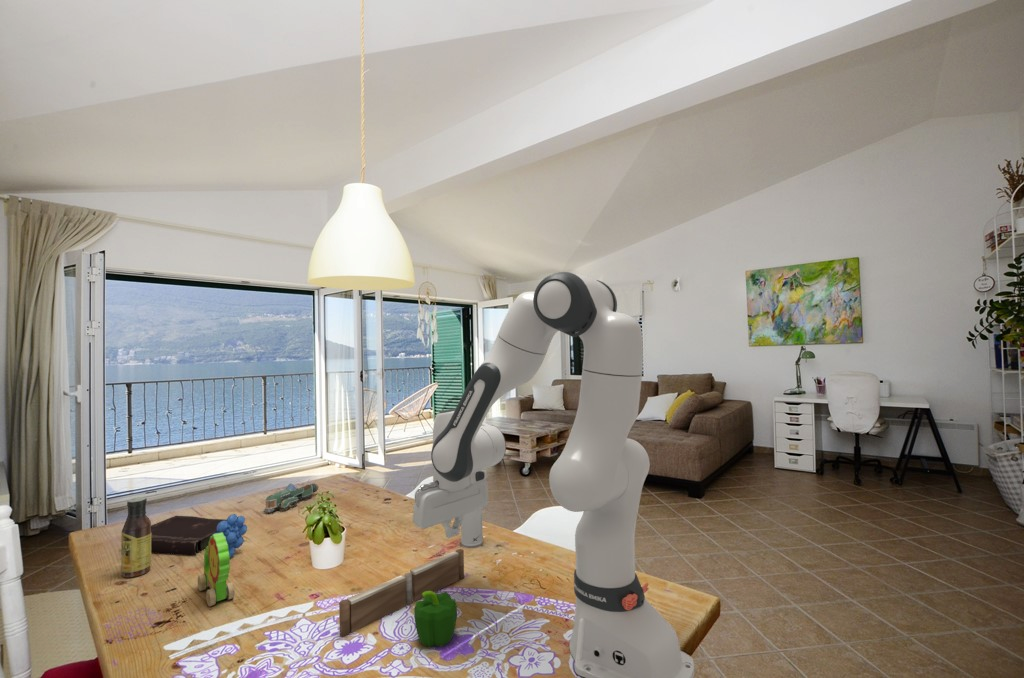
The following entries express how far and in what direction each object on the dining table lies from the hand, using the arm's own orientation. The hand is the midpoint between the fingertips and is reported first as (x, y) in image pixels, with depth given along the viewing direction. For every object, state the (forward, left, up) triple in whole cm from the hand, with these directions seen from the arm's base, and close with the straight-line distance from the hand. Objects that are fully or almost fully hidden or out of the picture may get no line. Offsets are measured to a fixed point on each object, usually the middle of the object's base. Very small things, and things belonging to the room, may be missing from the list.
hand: (452, 535), depth 109 cm
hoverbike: (+100, -3, -14) cm, 101 cm away
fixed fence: (+4, +17, -14) cm, 22 cm away
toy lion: (+43, +37, -14) cm, 59 cm away
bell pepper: (-11, +13, -14) cm, 22 cm away
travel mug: (+17, -22, -14) cm, 31 cm away
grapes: (+65, +29, -14) cm, 73 cm away
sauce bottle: (+73, +48, -14) cm, 89 cm away
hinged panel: (+4, +1, -13) cm, 14 cm away
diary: (+89, +34, -15) cm, 97 cm away
